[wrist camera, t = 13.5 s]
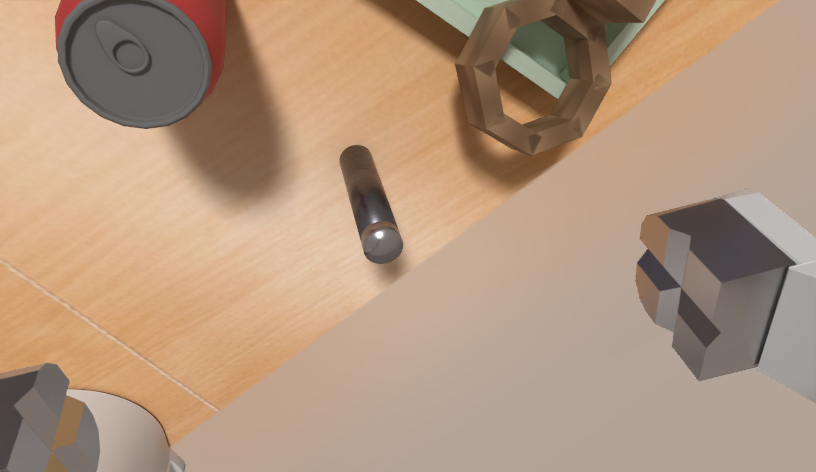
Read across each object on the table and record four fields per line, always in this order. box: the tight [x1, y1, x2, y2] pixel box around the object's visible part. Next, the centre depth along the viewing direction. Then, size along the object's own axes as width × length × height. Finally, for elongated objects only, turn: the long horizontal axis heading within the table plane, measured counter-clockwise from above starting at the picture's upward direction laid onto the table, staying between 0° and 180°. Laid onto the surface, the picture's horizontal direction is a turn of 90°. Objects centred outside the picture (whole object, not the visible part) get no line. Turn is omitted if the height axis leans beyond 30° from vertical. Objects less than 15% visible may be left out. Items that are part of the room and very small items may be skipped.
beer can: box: [55, 0, 227, 129], centre depth 29 cm, size 7×7×12 cm
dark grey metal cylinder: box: [340, 145, 403, 264], centre depth 39 cm, size 2×2×10 cm
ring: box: [455, 0, 656, 156], centre depth 35 cm, size 8×13×6 cm, turn 145°
